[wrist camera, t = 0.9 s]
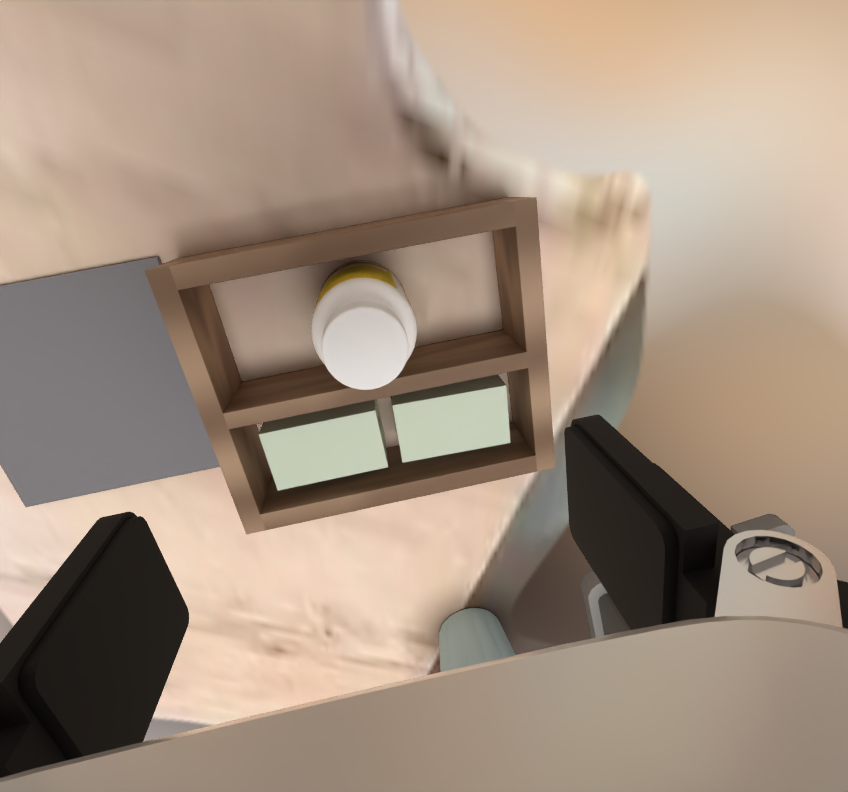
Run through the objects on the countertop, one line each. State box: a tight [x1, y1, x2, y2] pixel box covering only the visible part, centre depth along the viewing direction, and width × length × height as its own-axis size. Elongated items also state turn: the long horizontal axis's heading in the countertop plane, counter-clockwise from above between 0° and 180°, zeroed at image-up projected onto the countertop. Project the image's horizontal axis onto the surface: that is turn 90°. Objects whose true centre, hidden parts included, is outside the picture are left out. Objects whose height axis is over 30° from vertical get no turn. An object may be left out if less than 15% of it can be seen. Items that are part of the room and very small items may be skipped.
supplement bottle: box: [311, 261, 417, 390], centre depth 27 cm, size 5×5×10 cm
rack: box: [145, 197, 555, 534], centre depth 30 cm, size 16×20×5 cm
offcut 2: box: [391, 374, 510, 463], centre depth 33 cm, size 4×7×4 cm, turn 98°
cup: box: [439, 608, 515, 672], centre depth 38 cm, size 8×8×10 cm
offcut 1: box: [259, 399, 388, 491], centre depth 32 cm, size 4×7×4 cm, turn 100°
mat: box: [0, 256, 220, 507], centre depth 31 cm, size 14×14×1 cm
